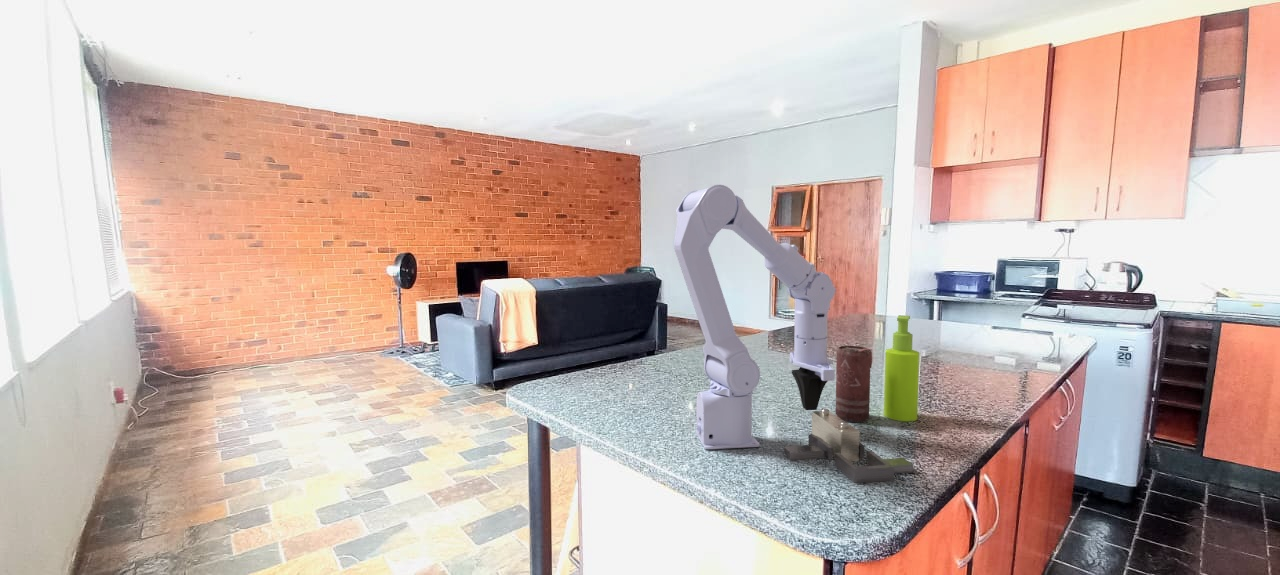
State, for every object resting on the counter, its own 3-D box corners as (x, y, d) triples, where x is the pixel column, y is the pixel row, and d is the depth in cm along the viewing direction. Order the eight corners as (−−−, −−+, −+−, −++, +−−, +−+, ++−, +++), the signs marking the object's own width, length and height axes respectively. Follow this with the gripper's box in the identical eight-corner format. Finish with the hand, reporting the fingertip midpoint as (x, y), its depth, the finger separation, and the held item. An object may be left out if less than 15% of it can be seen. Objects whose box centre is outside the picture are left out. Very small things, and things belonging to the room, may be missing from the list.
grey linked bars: (813, 485, 70) (814, 471, 70) (777, 447, 84) (777, 435, 84) (922, 478, 72) (922, 465, 72) (869, 442, 86) (869, 430, 85)
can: (874, 424, 94) (876, 351, 93) (838, 422, 95) (840, 350, 94) (866, 413, 100) (867, 345, 99) (833, 412, 101) (834, 344, 100)
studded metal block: (840, 463, 78) (841, 427, 77) (811, 439, 88) (812, 406, 87) (858, 461, 78) (859, 426, 78) (827, 438, 88) (828, 406, 88)
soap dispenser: (918, 413, 100) (921, 315, 99) (916, 423, 94) (919, 319, 93) (886, 408, 103) (888, 313, 102) (882, 418, 97) (884, 317, 96)
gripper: (852, 343, 84) (850, 421, 85) (813, 329, 99) (813, 396, 100) (812, 344, 83) (811, 423, 85) (779, 330, 98) (779, 398, 99)
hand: (809, 409), depth 92 cm, fingers closed
